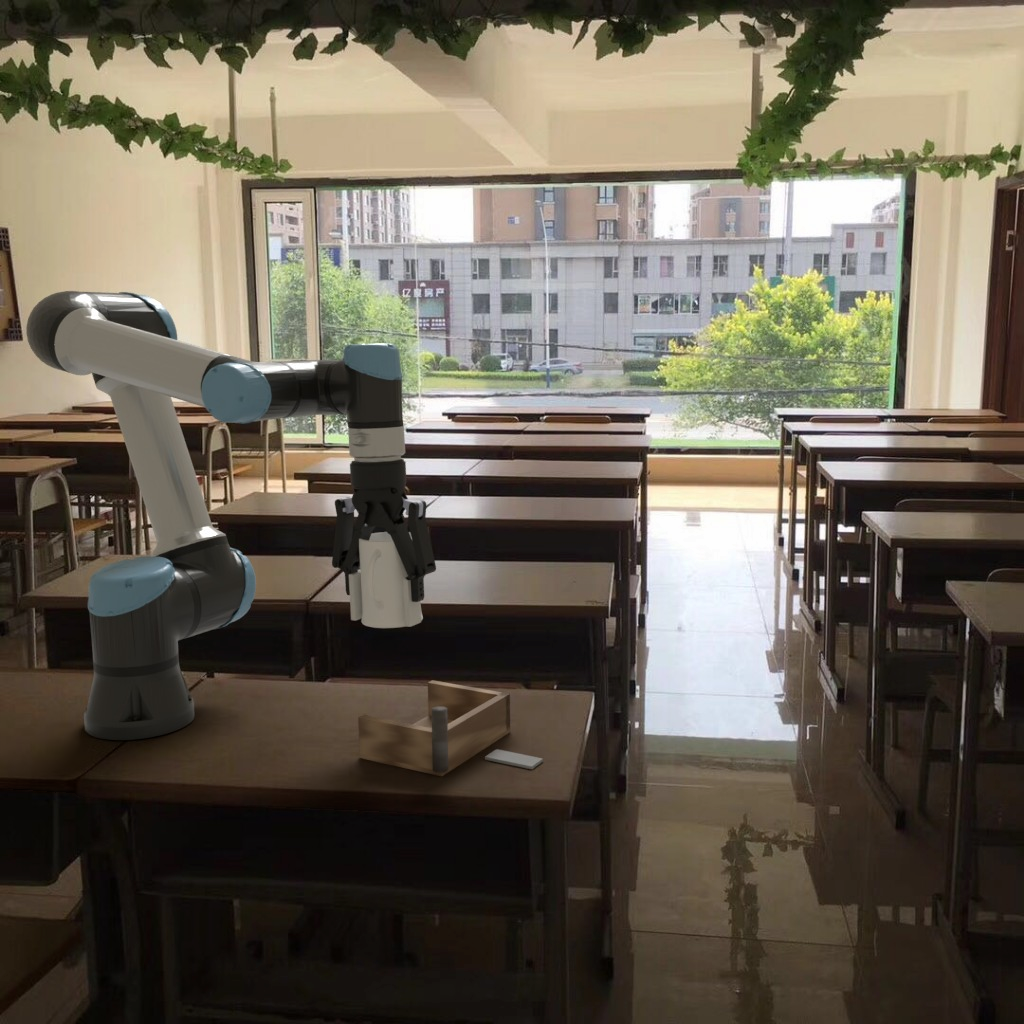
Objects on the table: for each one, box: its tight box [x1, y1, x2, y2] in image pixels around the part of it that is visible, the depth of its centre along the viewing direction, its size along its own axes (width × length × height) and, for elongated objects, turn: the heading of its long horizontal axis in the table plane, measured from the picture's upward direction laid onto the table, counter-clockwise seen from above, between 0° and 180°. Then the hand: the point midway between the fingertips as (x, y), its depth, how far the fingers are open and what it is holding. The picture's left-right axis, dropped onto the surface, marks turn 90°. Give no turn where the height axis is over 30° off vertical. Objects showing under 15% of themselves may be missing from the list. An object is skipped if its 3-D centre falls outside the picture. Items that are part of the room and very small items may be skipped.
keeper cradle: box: [357, 679, 511, 777], centre depth 146 cm, size 13×18×9 cm
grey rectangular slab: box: [484, 748, 544, 770], centre depth 141 cm, size 7×3×1 cm, turn 61°
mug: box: [359, 531, 424, 629], centre depth 148 cm, size 12×8×12 cm
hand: (385, 621), depth 149 cm, fingers closed on mug, 8 cm apart
